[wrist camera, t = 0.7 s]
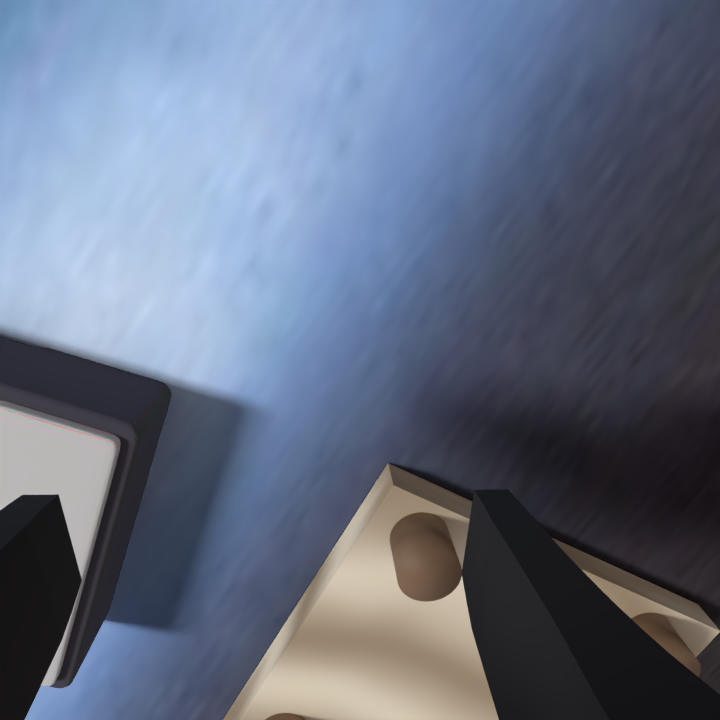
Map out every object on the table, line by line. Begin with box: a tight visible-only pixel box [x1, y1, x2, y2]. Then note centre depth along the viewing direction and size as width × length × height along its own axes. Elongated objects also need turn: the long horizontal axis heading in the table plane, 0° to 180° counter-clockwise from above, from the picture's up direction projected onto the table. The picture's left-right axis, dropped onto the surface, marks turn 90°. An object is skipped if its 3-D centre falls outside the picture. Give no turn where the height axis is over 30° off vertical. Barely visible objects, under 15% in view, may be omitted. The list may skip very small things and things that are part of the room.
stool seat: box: [223, 463, 720, 720], centre depth 24 cm, size 15×16×4 cm
